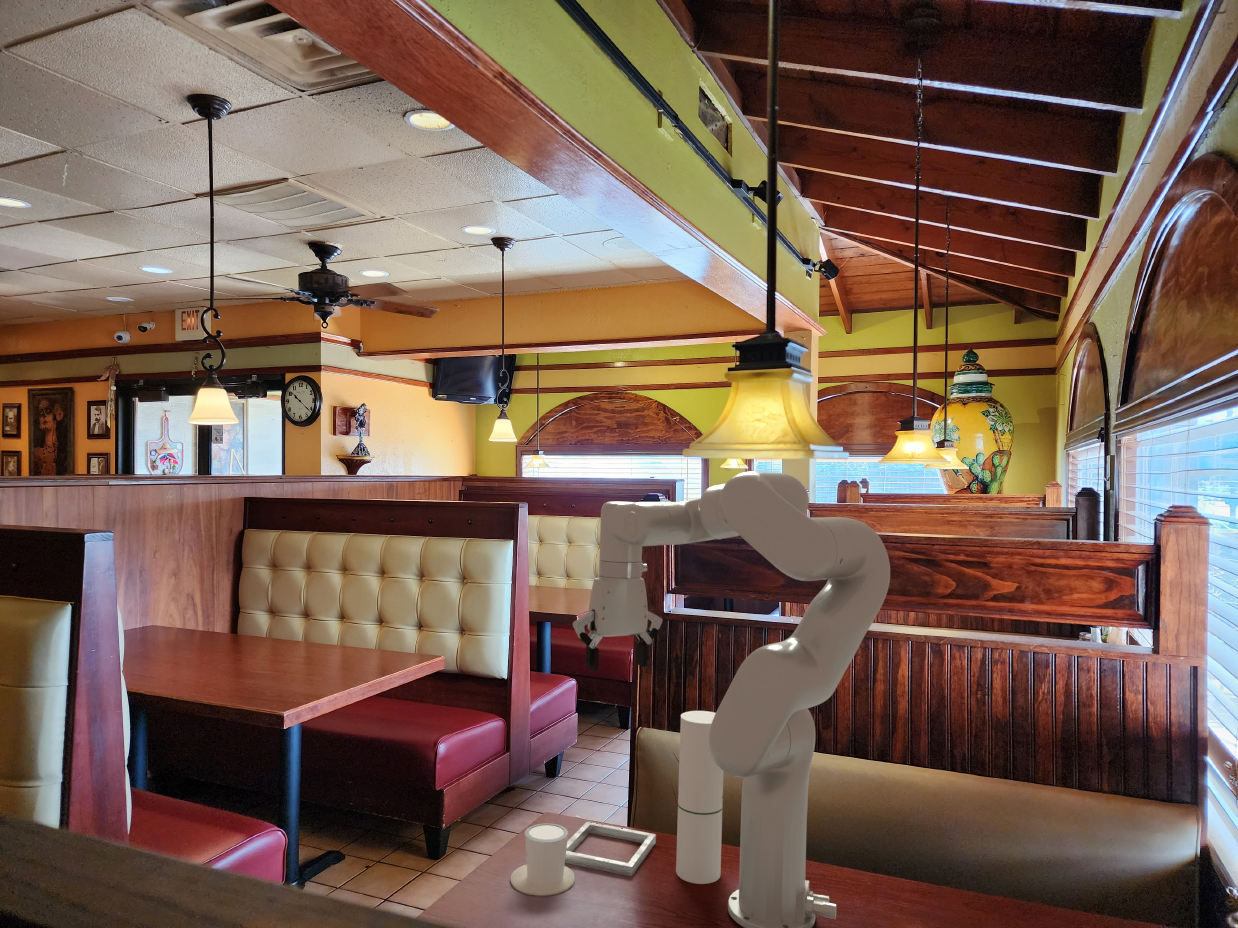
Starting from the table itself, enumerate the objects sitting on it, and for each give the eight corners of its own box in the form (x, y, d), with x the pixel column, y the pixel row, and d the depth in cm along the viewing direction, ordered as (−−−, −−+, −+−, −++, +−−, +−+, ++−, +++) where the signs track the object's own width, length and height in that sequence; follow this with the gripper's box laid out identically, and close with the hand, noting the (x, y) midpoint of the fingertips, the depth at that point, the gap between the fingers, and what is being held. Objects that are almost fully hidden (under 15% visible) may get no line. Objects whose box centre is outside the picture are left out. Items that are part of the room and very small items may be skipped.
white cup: (565, 888, 122) (566, 842, 123) (520, 886, 123) (521, 840, 123) (568, 866, 129) (570, 823, 130) (526, 865, 129) (527, 821, 130)
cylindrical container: (721, 864, 133) (725, 712, 133) (719, 886, 126) (723, 725, 126) (678, 859, 134) (682, 709, 134) (673, 880, 127) (678, 721, 127)
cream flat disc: (584, 871, 129) (584, 868, 129) (558, 901, 119) (558, 898, 119) (528, 859, 132) (528, 857, 132) (499, 887, 123) (499, 885, 123)
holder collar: (655, 842, 140) (655, 834, 140) (631, 876, 128) (631, 866, 128) (586, 829, 144) (586, 821, 144) (556, 860, 132) (557, 851, 132)
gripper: (652, 567, 150) (649, 659, 150) (567, 569, 142) (564, 666, 142) (672, 572, 143) (670, 668, 143) (584, 574, 136) (581, 676, 135)
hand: (617, 667), depth 142 cm, fingers open, 9 cm apart
